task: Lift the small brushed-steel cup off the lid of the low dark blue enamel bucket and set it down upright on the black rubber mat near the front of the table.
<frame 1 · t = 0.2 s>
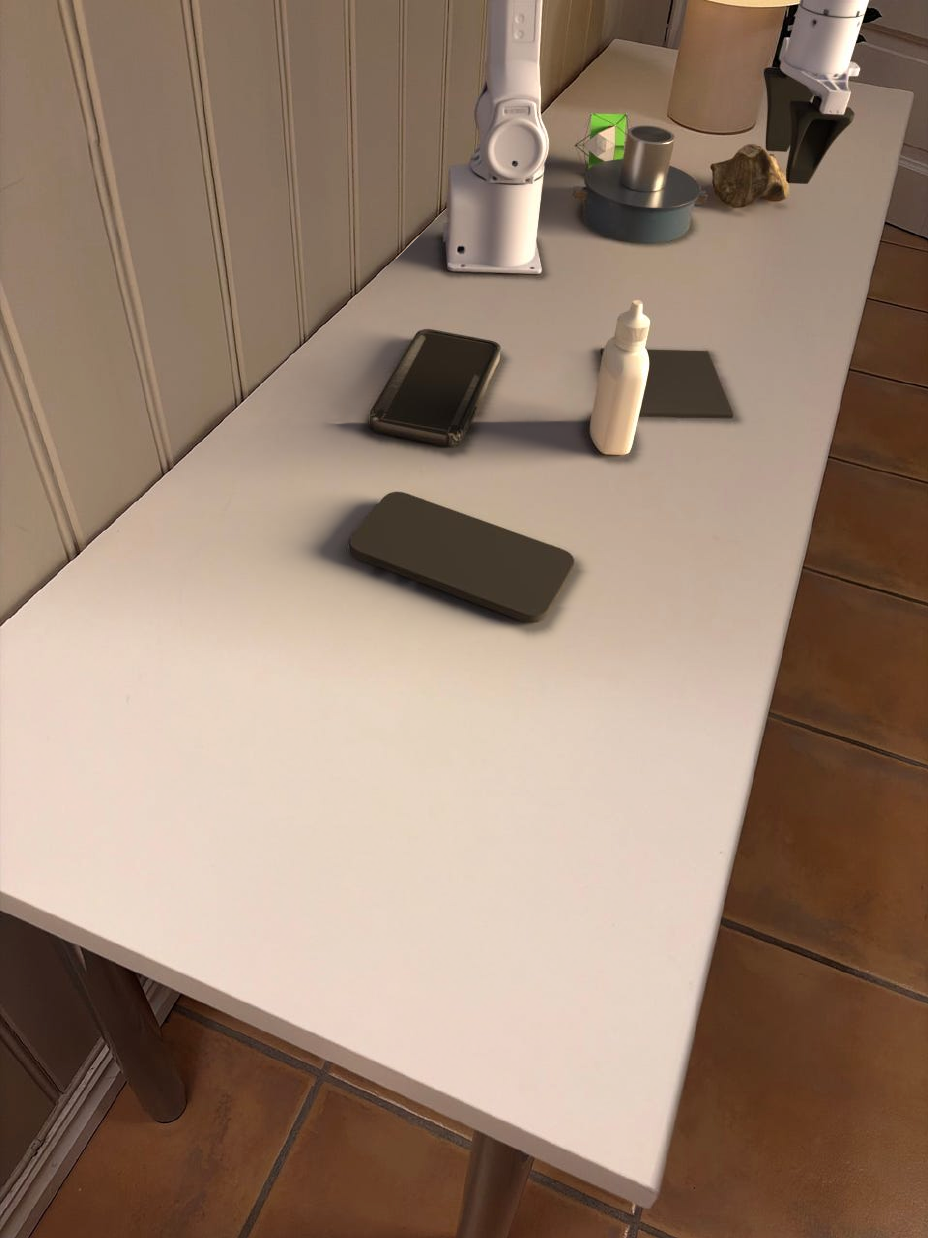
hand: (786, 165, 96), 10 cm above the table, tool pointing down, fingers open, 7 cm apart
geometric puzzle: (602, 174, 118), on the table
phone: (460, 560, 69), on the table
mat: (663, 383, 87), on the table
fossilized seashell: (744, 201, 115), on the table
eye dropper bottle: (609, 438, 81), on the table
phone 2: (438, 391, 84), on the table
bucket: (635, 218, 109), on the table
cup: (642, 182, 107), point 4 cm above the table, touching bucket
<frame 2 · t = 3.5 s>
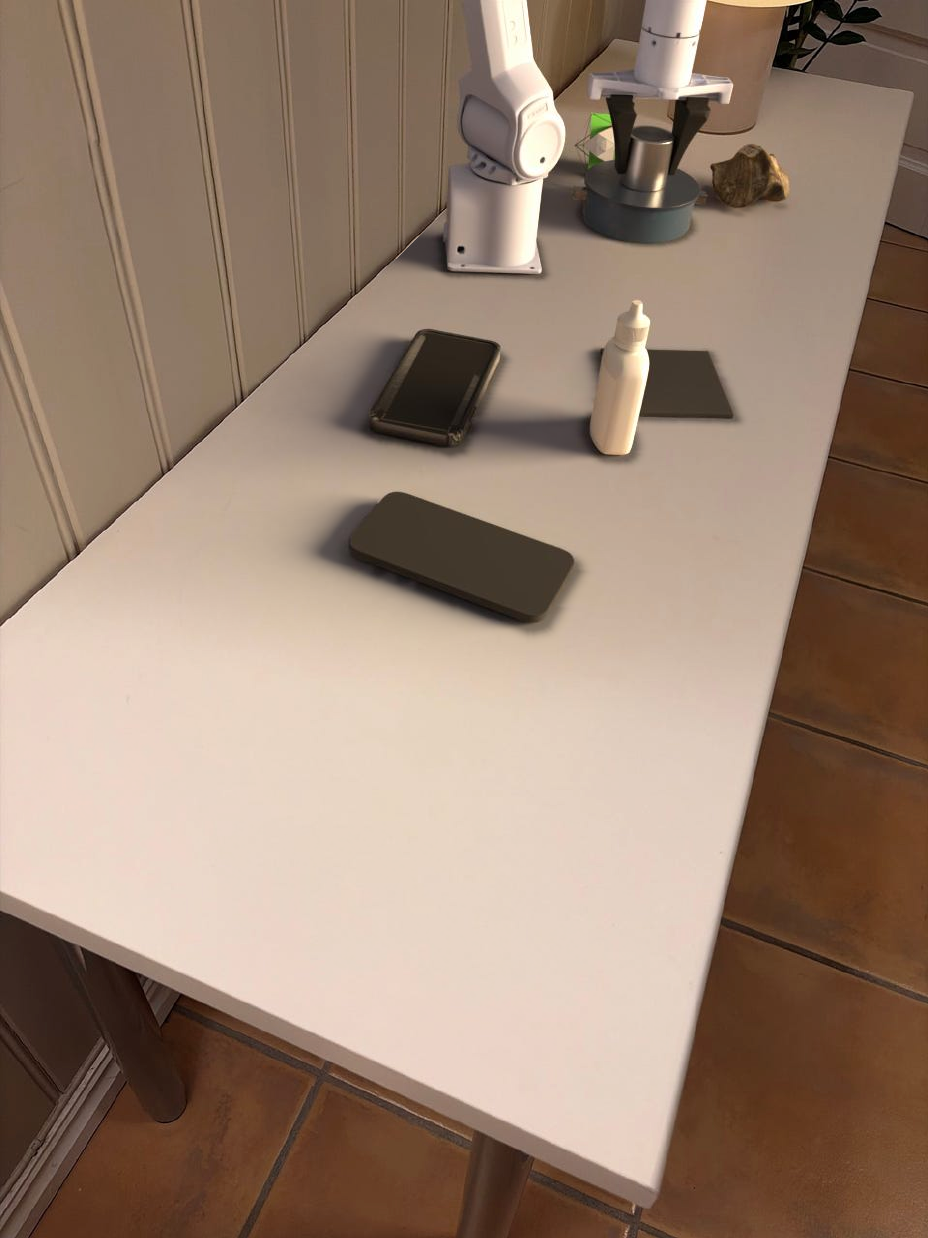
hand: (644, 170, 106), 5 cm above the table, tool pointing down, fingers closed on cup, 5 cm apart
cup: (642, 182, 107), point 4 cm above the table, touching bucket, gripper
everything else where it was.
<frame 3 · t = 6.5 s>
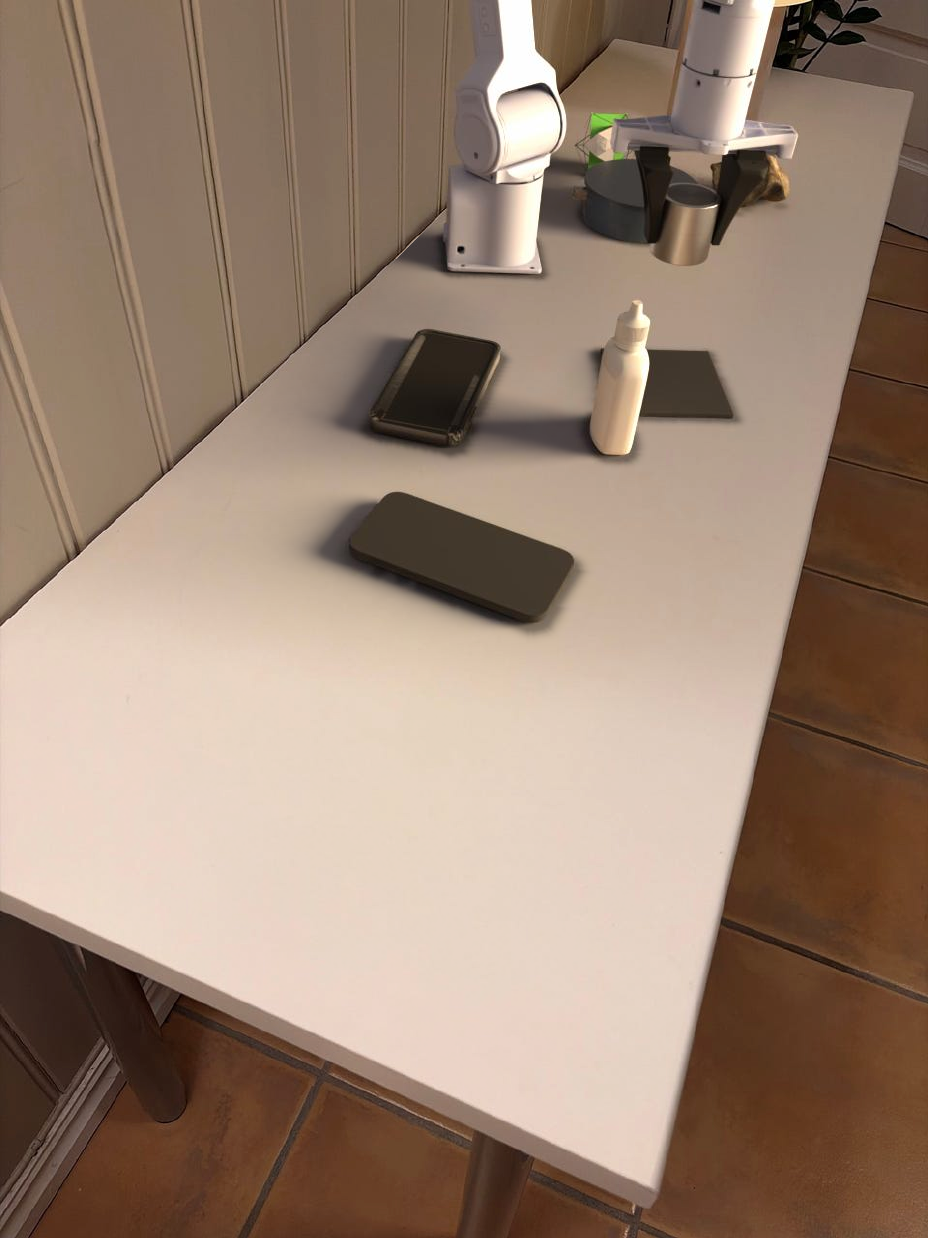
hand: (681, 239, 84), 10 cm above the table, tool pointing down, fingers closed on cup, 5 cm apart
cup: (678, 252, 85), point 9 cm above the table, touching gripper
everything else where it was.
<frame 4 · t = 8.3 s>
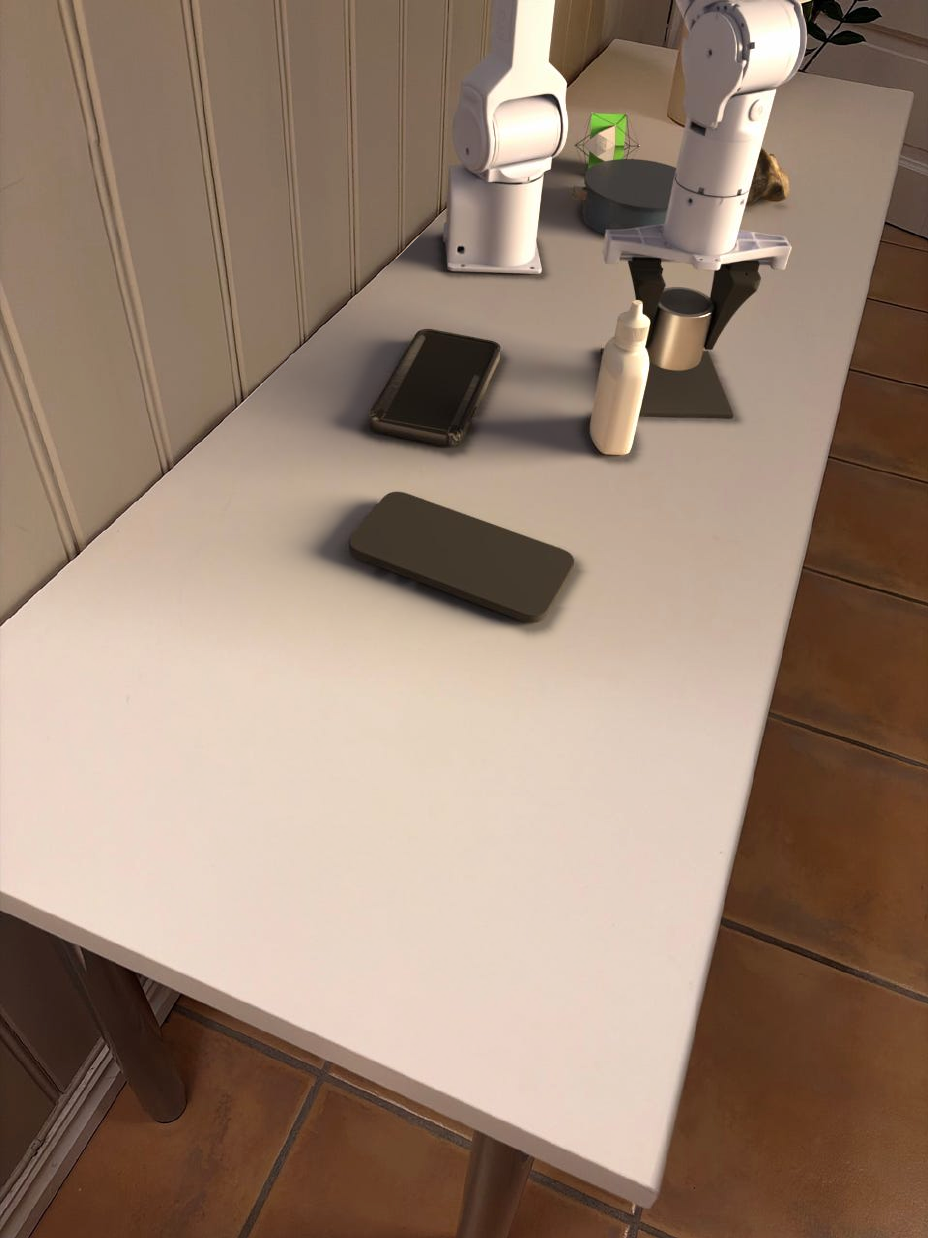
hand: (673, 342, 84), 4 cm above the table, tool pointing down, fingers closed on cup, 5 cm apart
cup: (671, 354, 84), point 3 cm above the table, touching gripper
everything else where it was.
when the fingers open (2 cm above the table, at t = 9.6 s): cup stays where it is, resting on mat.
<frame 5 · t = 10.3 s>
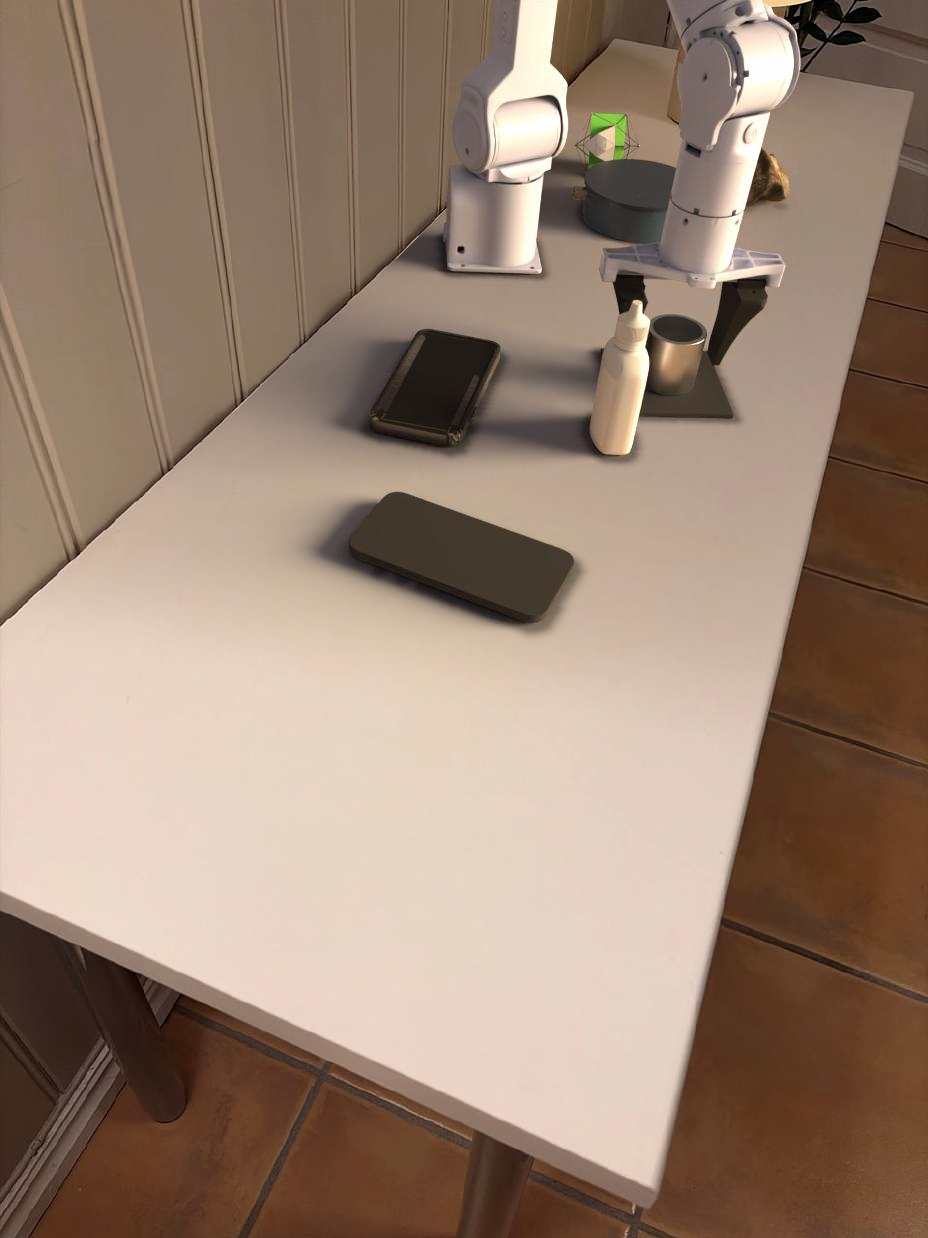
hand: (669, 357, 85), 3 cm above the table, tool pointing down, fingers open, 7 cm apart
cup: (665, 380, 86), resting on mat
everything else where it was.
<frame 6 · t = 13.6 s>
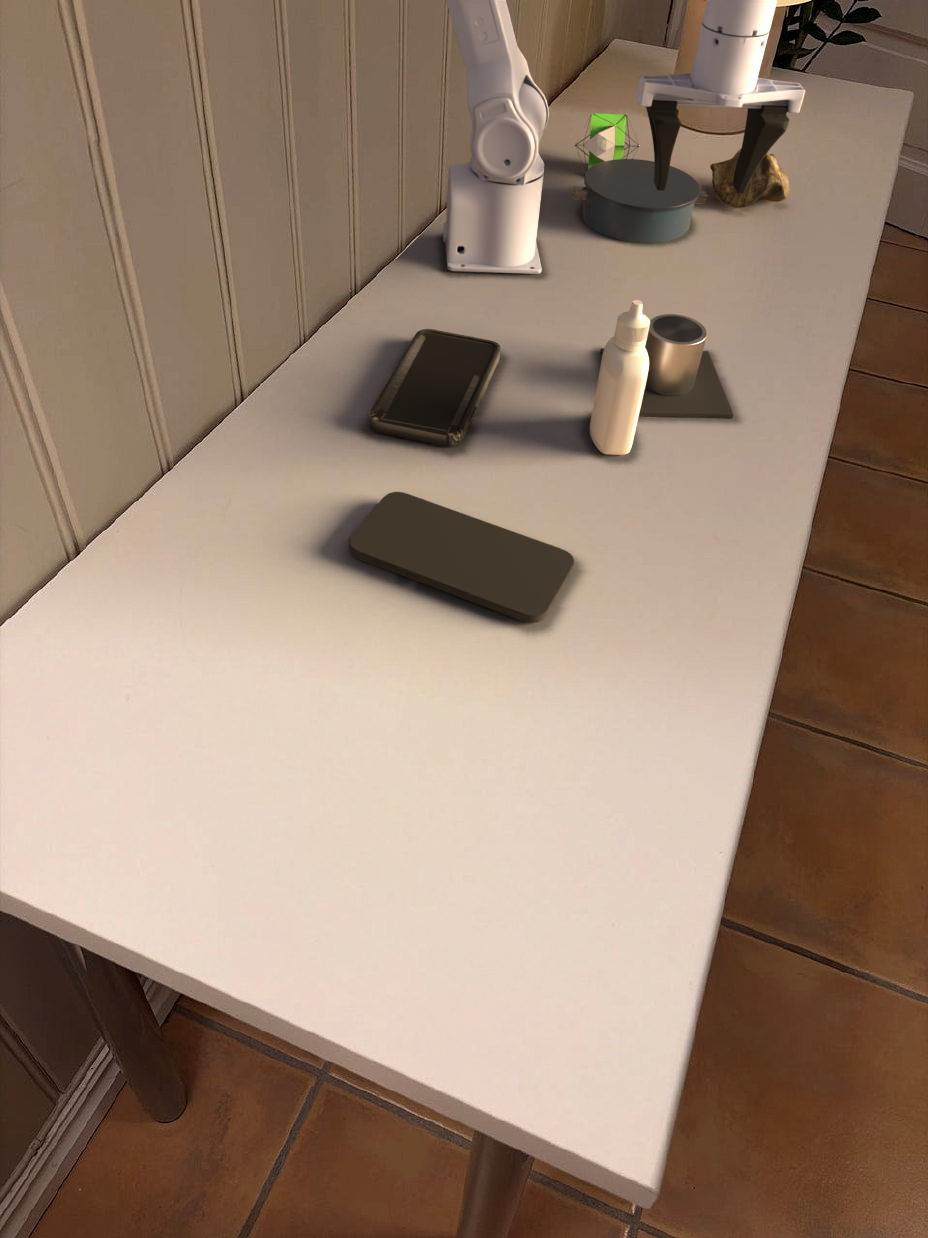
hand: (698, 187, 93), 9 cm above the table, tool pointing down, fingers open, 7 cm apart
nothing on the table moved.
at the end: cup inside the target area on the mat (0.0 cm from its centre), point 0.4 cm above the mat's base; cup tilted 0°; cup touching mat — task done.
